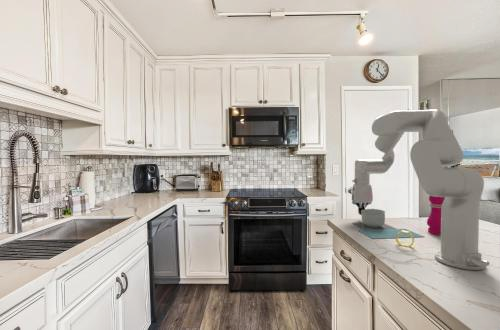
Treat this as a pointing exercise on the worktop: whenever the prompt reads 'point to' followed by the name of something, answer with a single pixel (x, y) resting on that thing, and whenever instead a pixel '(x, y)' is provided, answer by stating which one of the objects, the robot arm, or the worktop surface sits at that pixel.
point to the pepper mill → (435, 215)
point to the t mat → (384, 232)
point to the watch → (404, 233)
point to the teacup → (373, 217)
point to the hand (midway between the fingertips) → (361, 214)
